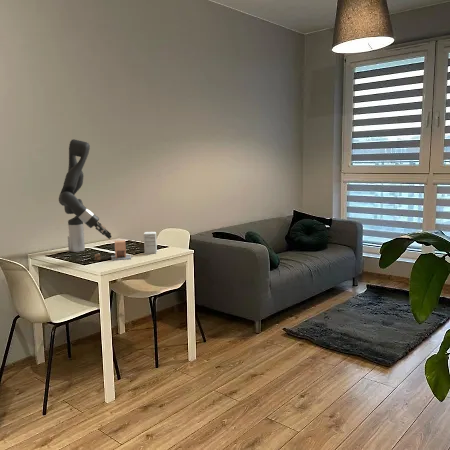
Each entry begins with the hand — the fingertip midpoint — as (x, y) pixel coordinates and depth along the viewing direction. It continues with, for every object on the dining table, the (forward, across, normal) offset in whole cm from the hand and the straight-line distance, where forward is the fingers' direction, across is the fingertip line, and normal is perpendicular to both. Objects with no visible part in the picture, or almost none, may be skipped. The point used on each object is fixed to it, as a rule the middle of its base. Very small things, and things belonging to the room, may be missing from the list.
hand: (110, 236), depth 267 cm
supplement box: (+27, +9, -8) cm, 29 cm away
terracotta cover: (+13, 0, +5) cm, 14 cm away
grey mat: (+13, 0, +5) cm, 14 cm away
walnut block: (+4, 0, +15) cm, 15 cm away
